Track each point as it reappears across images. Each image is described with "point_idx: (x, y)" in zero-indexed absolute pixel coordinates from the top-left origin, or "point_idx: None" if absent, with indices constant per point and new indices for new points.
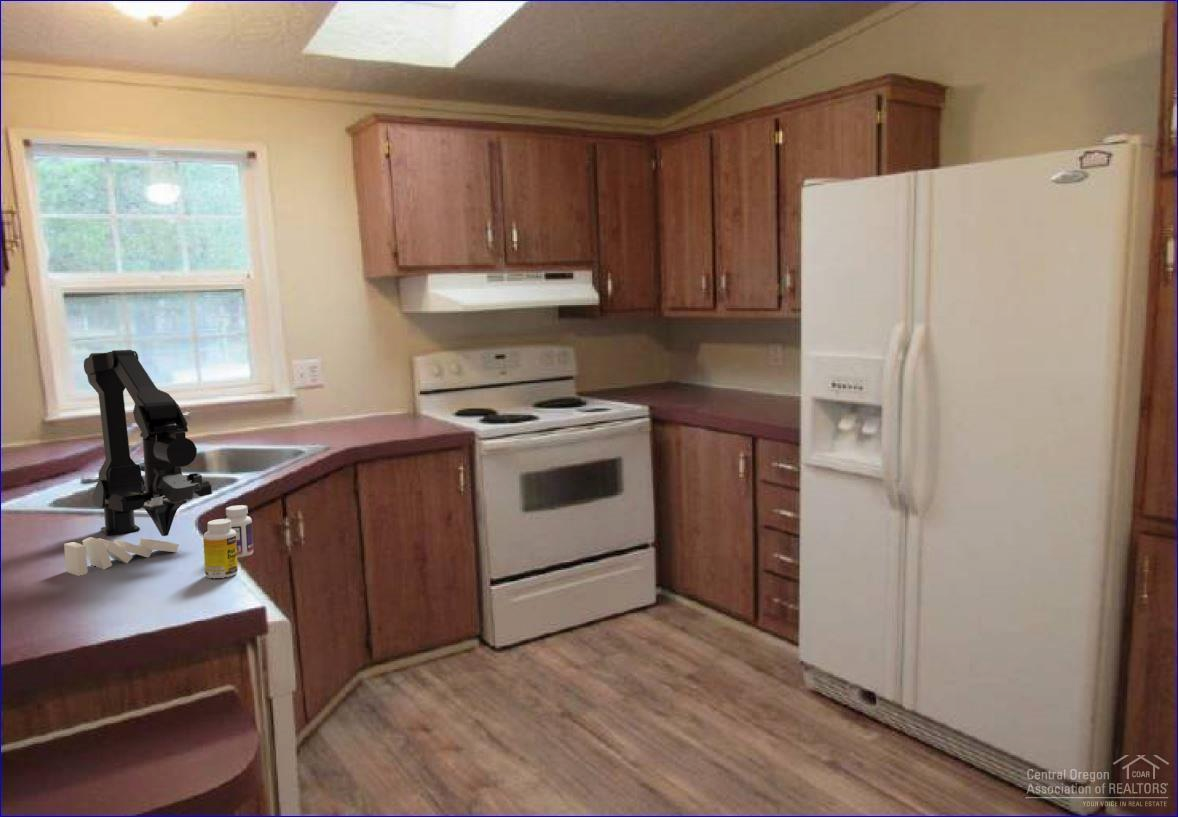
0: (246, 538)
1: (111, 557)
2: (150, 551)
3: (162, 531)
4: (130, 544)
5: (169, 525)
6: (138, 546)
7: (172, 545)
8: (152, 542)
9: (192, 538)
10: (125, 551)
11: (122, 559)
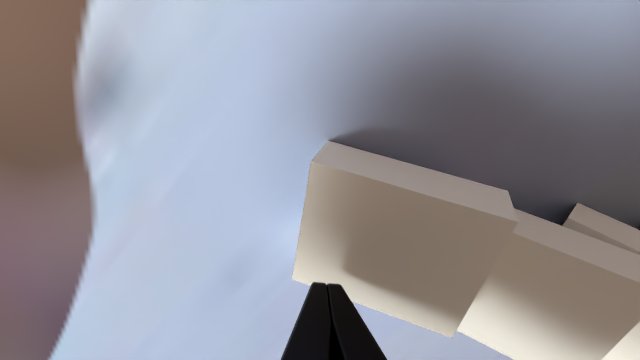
0: None
1: None
2: None
3: (355, 317)
4: (635, 276)
5: (309, 339)
6: (564, 252)
7: (360, 168)
8: (511, 227)
9: (103, 274)
10: (637, 250)
11: (620, 222)
